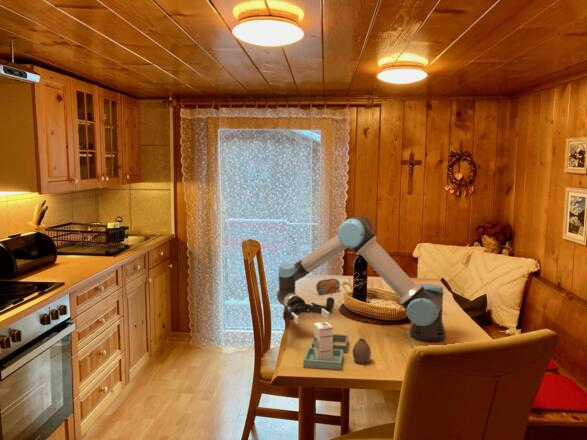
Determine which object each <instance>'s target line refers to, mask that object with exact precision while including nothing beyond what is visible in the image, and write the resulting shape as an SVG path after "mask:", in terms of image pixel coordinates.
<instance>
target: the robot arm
mask: <svg viewBox="0 0 587 440" xmlns="http://www.w3.org/2000/svg"><path fill="white" fill-rule="evenodd" d="M346 249H350V250H351V251H352V252H353V253H354V254H355V255H356V256H357V255H358V256H362V258H364V260H365V261H366V262H367V263H368V265H370V267H372V269H373V270H374V271H375V272H376V273H377V274H378V275H379V277H380V278H382V280H383V281H384V282H385V283H386V284H387V285H388V286H389V288H390V289H391V290H392V291H393V292H394V293H395V294H396V295H397V296H398V298H399V299H400V304H399V305H401V307H403V309H404V310H405V311H406V315H407V318H408V320H409V321H410V322H411V323H412V324H411V327H410V329H409V335H410V337H411V338H413V339H415V340H417V341H420V342H425V343H437V342H438V343H439V342H443V341H444V340H445V339H446V338H447V337H446V335H447V334H446V329H445V326H444V323H443V307H444V306H443V303H444V302H443V301H444V294H445V292H444V287H443V286H442V285H438V284H432V283H418V284H416V283H415V281H414V280H412V278H410V276H409V275H408V274H407V273H406V272H405V271H404V270H403V268H401V267H400V265H399V264H398V263H397V262H396V261H395V260H394V259H393V258H392V257H391V256H390V254H389V253H388V252H386V250H385V249H384V248H383V247H382V246H381V245H380V244H379V243H378V242H377V235H376V234H375V233H374V227H373V223H372V222H371V219H369V218H367V217H366V216H364V215H363V216H362V215H358V216H354V217H351V218H348V219H346V220H345V221H344V222H342V223H341V224H340V225H339V227H338V231H337V235H335V236H333V237H332V238H331V239H329V240H328V241H326V242H325V243H323V244H322V245H320V246H319V247H318V248H316V249H314V250H313V251H311V252H310V253H309V254H307V255H306V256H304V257H302V259H300V260H298V261H297V262H296V263H294V264H293V263H282V264H280V265H279V266H278V290H277V292H276V299H277V301H278V303H279V304H281V306H283V308H284V309H283V312H282V315H283V317H282V318H283V320H285V319H287V320H288V321H293V323H295V324H296V325H299V323H300V322H299V320H300V319H299V316H298V315H300V314H301V313H303V314H304V313H307V314H310V313H314V314H319V315H321V316H323V317H324V318H325V319H326V320H330V319H331V317H330V314H331V313H329V312H328V307H326V305H321V304H318V303H314V302H310V304H308V303H306V302H305V299H304V298H302V297H300V296H299V295H298V294H296V282H297V281H299V280H301V279H302V278H304V277H306V276H307V275H309V274H310V273H311V272H313V271H314V270H316V269H318V268H319V267H321V266H322V265H324V264H325V263H326V262H329V261H330V260H331V259H333V258H334V257H335V256H336V257H337V255H339V254H340V253H341V252H343V251H345V250H346Z"/></svg>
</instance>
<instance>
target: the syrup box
mask: <svg viewBox="0 0 587 440" xmlns="http://www.w3.org/2000/svg"><path fill="white" fill-rule="evenodd" d="M333 330H334V329H333V326H332V324H330V323H328V322H327V321H319V322H315V323H313V339H314V359H315V360H323V361H333V345H334V342H333V334H334V333H333Z"/></svg>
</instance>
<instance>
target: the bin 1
mask: <svg viewBox="0 0 587 440" xmlns="http://www.w3.org/2000/svg"><path fill="white" fill-rule="evenodd" d="M333 343H344V344H333V349H337V350H343V354H347V352H348V346H349V335H348V334H336V333H335V334H334V333H333ZM311 348H314V338H313V339H312V342H311Z"/></svg>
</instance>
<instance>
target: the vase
mask: <svg viewBox="0 0 587 440" xmlns="http://www.w3.org/2000/svg"><path fill="white" fill-rule="evenodd" d="M371 353H372V351H371V347H370V345H369V344H368V343H367V341H366V339H365V338H359V339H358V341H357V342H355V344H354V346H353V348H352V358H353V360H354V361H355V362H356V363H358V364H366V363H368V362H369V361H370V358H371Z"/></svg>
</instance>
